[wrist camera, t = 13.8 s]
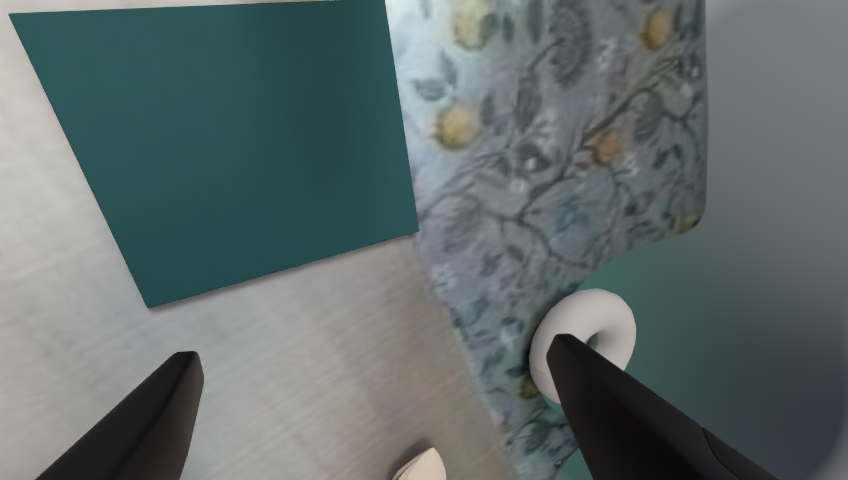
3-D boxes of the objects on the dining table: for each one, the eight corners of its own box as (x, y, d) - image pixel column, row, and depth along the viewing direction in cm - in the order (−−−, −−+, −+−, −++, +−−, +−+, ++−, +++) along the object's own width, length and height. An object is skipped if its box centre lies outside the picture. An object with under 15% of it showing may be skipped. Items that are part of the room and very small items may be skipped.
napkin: (149, 306, 17) (147, 308, 17) (12, 15, 13) (7, 13, 13) (417, 229, 22) (419, 231, 22) (382, 0, 18) (384, -2, 18)
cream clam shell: (379, 494, 27) (390, 527, 25) (399, 436, 26) (413, 464, 24) (428, 487, 29) (443, 517, 27) (449, 433, 28) (466, 459, 26)
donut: (614, 346, 35) (604, 260, 30) (648, 368, 32) (643, 276, 27) (532, 408, 32) (507, 323, 27) (561, 437, 29) (539, 348, 25)
